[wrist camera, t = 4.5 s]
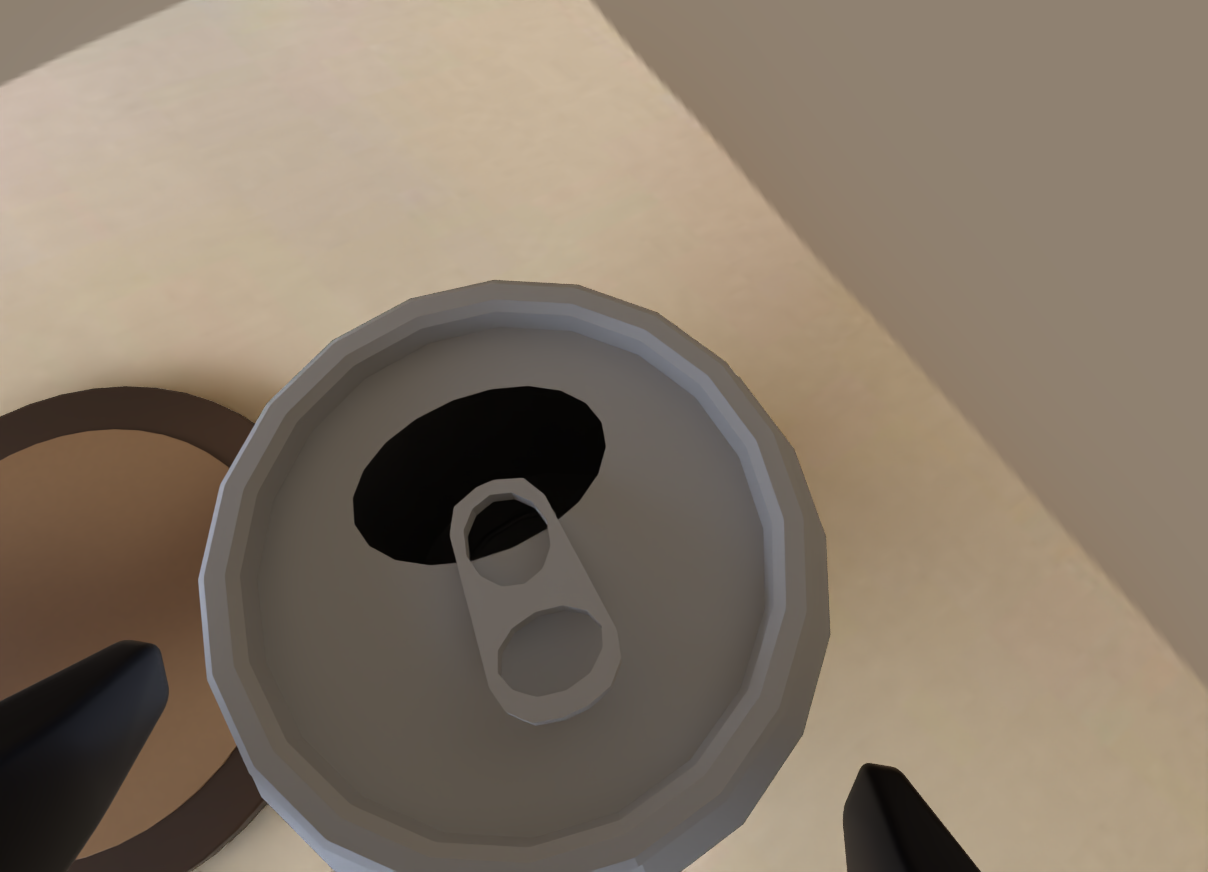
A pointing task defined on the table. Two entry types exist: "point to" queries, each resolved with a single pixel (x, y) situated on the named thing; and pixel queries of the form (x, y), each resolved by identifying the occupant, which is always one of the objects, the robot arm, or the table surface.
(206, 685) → the coaster
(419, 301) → the can
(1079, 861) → the table surface
